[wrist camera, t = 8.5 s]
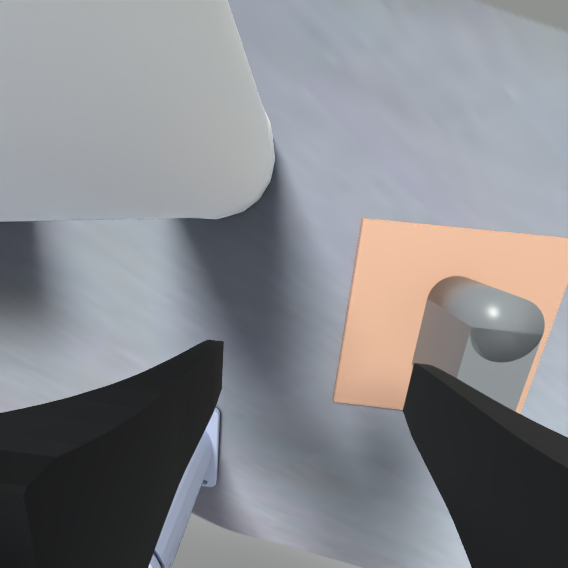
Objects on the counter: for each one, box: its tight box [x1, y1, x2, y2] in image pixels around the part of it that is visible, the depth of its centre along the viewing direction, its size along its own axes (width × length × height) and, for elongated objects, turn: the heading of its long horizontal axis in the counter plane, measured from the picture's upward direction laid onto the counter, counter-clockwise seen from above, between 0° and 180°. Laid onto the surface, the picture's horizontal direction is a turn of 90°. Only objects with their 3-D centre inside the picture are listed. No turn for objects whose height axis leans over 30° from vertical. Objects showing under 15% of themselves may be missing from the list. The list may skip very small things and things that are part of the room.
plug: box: [412, 276, 545, 411], centre depth 17 cm, size 4×9×5 cm, turn 175°
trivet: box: [333, 218, 568, 414], centre depth 20 cm, size 14×14×1 cm
